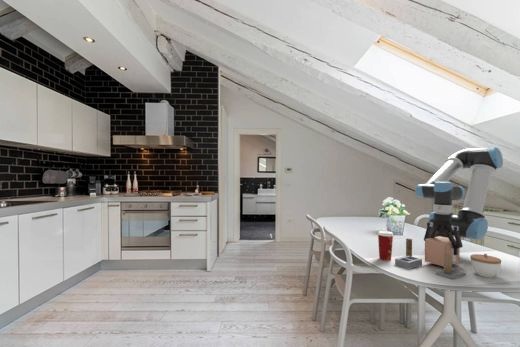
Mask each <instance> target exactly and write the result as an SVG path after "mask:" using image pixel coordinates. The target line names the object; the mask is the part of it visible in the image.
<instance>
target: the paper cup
mask: <svg viewBox="0 0 520 347" xmlns="http://www.w3.org/2000/svg"><path fill="white" fill-rule="evenodd" d="M377 236H378V237H377V238H378V256H379V260H382V261H386V260H389V261H391V260H392V255H393V240H394V233H393V232H392V231H387V230H379V231H378V233H377Z"/></svg>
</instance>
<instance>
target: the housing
mask: <svg viewBox="0 0 520 347" xmlns="http://www.w3.org/2000/svg"><path fill="white" fill-rule="evenodd" d="M454 239H455V238H454ZM455 241H456V239H455ZM451 248H453V246H452V242H450V240H449V238H446V237H441V236H438V237H435V238H428V239H425V241H424V262H426V263H430V264H433V265H437V266H440V267H444V254H449V255H451ZM460 249H461V248H458V255H456V261H455V262H452V266H453V265H455V264H458V263H460V251H461V250H460Z"/></svg>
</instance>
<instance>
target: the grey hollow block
mask: <svg viewBox="0 0 520 347" xmlns="http://www.w3.org/2000/svg"><path fill="white" fill-rule="evenodd" d="M394 265H395V266H397V265H398V266H397V267H400V266H401V267H400V268H405V269H408V270H410V269H411V270H412V269H413V268H417V267H418V268H419V267H422V266H423V258H419V257H415V256H413V255H412V256H406V255H405V256H401V257H397V258H395V259H394Z"/></svg>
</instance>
